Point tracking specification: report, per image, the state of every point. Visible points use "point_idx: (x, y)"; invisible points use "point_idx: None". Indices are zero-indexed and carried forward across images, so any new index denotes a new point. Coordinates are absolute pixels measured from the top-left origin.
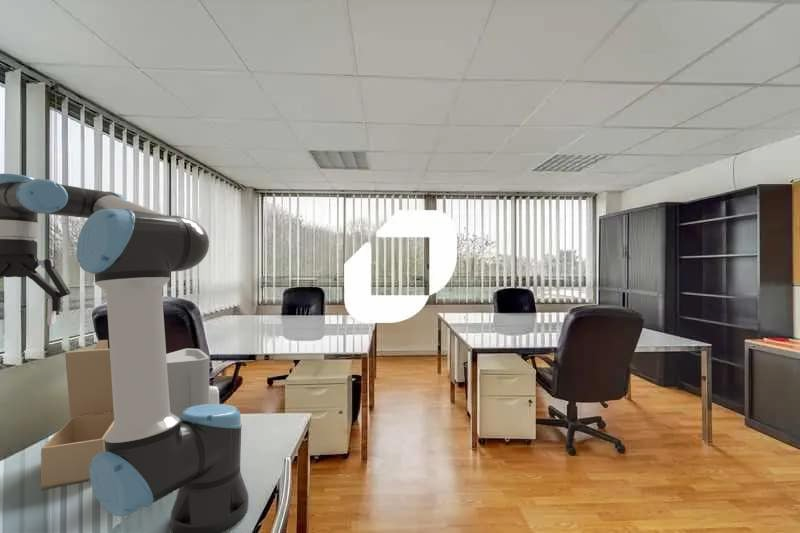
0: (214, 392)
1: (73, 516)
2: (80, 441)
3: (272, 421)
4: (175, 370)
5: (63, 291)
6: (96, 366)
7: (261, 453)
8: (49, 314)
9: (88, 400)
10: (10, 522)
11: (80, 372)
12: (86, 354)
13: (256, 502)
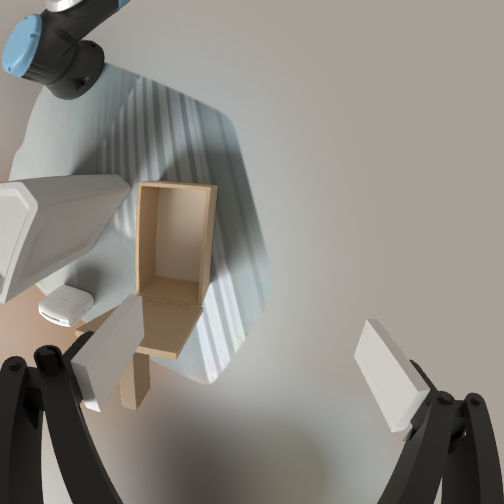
0: (42, 301)
1: (175, 106)
2: (196, 286)
3: None
4: (5, 182)
5: (9, 372)
6: None
7: (29, 168)
8: (116, 316)
9: (171, 310)
10: (230, 124)
11: (164, 329)
12: None
13: None
